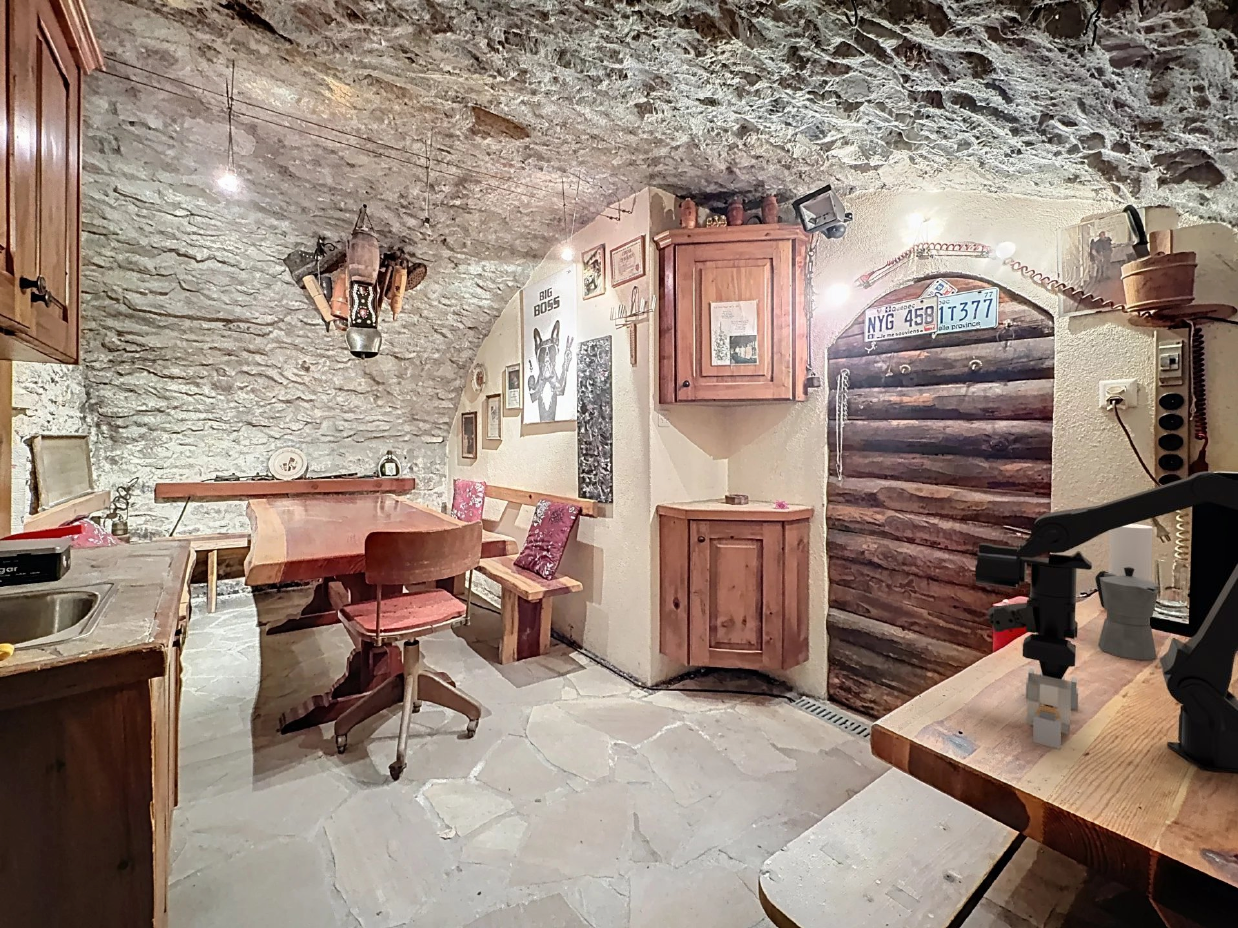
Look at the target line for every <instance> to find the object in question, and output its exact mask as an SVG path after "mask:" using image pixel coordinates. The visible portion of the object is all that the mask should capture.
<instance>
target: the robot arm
mask: <svg viewBox="0 0 1238 928" xmlns="http://www.w3.org/2000/svg"><path fill="white" fill-rule="evenodd" d="M1206 503H1213V504H1215V505H1219V506H1223V507H1227V508H1230V509H1234V510H1237V511H1238V480H1234V479H1231V478H1227V477H1225V476H1223V475H1221V474H1218V473H1215V472H1211V471H1200V472H1199V471H1198V472H1195V473H1193V474H1191V475H1190V476H1188V477H1186V478H1182V479H1180V480H1179V479H1178V480H1176V481H1173V482H1169V483H1167V484H1163V485H1159V486H1156V487H1152V488H1150V489H1147V490H1144V491H1141V492H1140V491H1139V492H1138V493H1133V494H1132V495H1128V496H1125V497H1121V498H1117V499H1115V500H1111V501H1109V502H1108V501H1107V502H1105V503H1101V504H1098V505H1092V506H1087V507H1081V508H1080V507H1079V508H1071V509H1065V510H1058V511H1053V512H1052V511H1051V512H1046V513H1043V514H1041V515H1040V516H1038V517H1037V519H1036V520H1035V522H1034V523H1033V525H1032V527H1031V529H1030V536H1029V537H1028V538H1026V540H1022V541H1021V542H1020V544H1019V547H1017V546H1006V545H996V544H992V543H989V542H988V543H986V542H984V543H983V542H981V543H980V544H979V545H978V554H977V560H976V564H975V567H974V568H975V570H974V572H975V573H974V575H975V583H976V584H980V585H989V586H997V587H1005V588H1011V589H1018V586H1021V584H1026V581H1027V564H1030V591H1029V592H1030V594H1028V599H1026V602H1019V603H1018V602H1016V603H1011V604H1010V603H1009V604H1004V605H1002V604H1001V605H998V606H996V605H995V606H992V607H989V608H988V611H987V616H988V619H989V620H988V623H989V624H990V625H991V627H992V629H993V632H995V633H1001V632H1004V631H1008V630H1014V629H1015V630H1016V629H1023V628H1025V632H1026V633H1031V634H1030V635H1027V636H1026V637H1024V639H1023V643H1022V657H1023V658H1025V659H1028V660H1034V661H1038V662H1039V666H1040V672H1041V671H1042V675H1043V676H1048V677H1052V678H1057V679H1062V677H1063V676H1064V675H1065V674H1066V673H1067V671H1068V670H1069V668H1070V667H1071V668H1073V667H1076V657H1077V656H1076V655H1077V654H1076V653H1077V652H1076V648H1077V645H1076V644H1074V643H1072V642H1071V640H1075V639H1076V638H1078V626H1079V625H1078V623H1079V622H1077V620H1076V608H1077V607H1076V606H1077V599H1076V598H1077V569H1079V570H1090V571H1091V570H1092V568H1093V563H1092V561H1090V560H1088V559H1087V558H1086V557H1085V556H1084V555H1083V554H1082V552H1081V551H1080V550H1077V551H1076V552H1075V553H1073V554H1072V555H1069V554H1062V553H1066V552H1068V551H1070V550H1072V549H1074V548H1076V547H1079V546H1081V545H1082V544H1083V545H1084V543H1087V542H1089V541H1091V540H1093V539H1095V538H1096V537H1099V536H1100V535H1102V534H1105V533H1106V532H1108V531H1109V532H1110V530H1112V529H1115V528H1119V527H1122V526H1126V525H1129V524H1136V523H1139V522H1143V521H1146V520H1149V519H1150V520H1151V519H1153V518H1157V517H1160V516H1164V515H1167V514H1170V513H1175V512H1177V511H1182V510H1184V509H1189V508H1193V507H1196V506H1198V505H1203V504H1206ZM1045 553H1049V554H1048V557H1038V556H1040V555H1043V554H1045ZM1060 553H1061V554H1060ZM1228 578H1229V579H1227V581H1226V583H1225V585H1224V586H1223V588H1222V590H1221V592H1220V593H1219V595H1218V597H1217V599H1216V600H1215V602H1214V604H1213V605H1212V607H1211V608H1210V610H1209V613H1208V614H1207V616H1206V617H1205V619H1204V621H1203V622H1202V624H1201V626H1200V628H1199V629H1198V631H1197V633H1195V635H1193V636H1192V637H1191V638H1189V639H1188V640H1187V641H1185V642H1183V641H1181V640H1179V639H1177V638H1176V637H1172V639H1171V641H1170V644H1169V646H1168V647H1169V648H1168V651H1167V652H1166V653H1165V654H1164V655H1162V656H1161V657H1159V662H1160V665H1161V666H1160V667H1161V669H1162V676H1163V679H1164V682H1165V685H1166V689H1167V690H1168V693H1169V694H1170V697H1172V698H1173V699H1174V700H1175V702H1177V703H1179V704H1181V705H1180V710H1179V711H1180V712H1179V714H1178V731H1177V735H1178V737H1177V740H1178V742H1175V741H1167V742H1166V746H1167V747H1169V748H1170V749H1171V750H1173V751H1174V752H1176V753H1178V754H1179V755H1181V756H1182V757H1183V758H1185V759H1186V760H1187V761H1189V762H1190V763H1192V764H1193V765H1195V766H1197V767H1198V768H1200V769H1202V770H1203V771H1204V770H1205V771H1213V772H1214V771H1215V772H1230V773H1238V699H1237V697H1236V696H1235V695H1234V694H1233V693H1232V692H1231V691H1229V688H1230V686H1231V681H1232V677H1233V671H1234V663H1235V658H1236V655H1237V652H1238V563H1237V564H1236V566H1235V568H1234V570H1233V571H1232V573H1231V575H1230V576H1229V577H1228ZM1070 639H1071V640H1070Z"/></svg>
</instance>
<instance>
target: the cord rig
mask: <svg viewBox="0 0 1238 928" xmlns="http://www.w3.org/2000/svg"><path fill="white" fill-rule="evenodd" d="M1030 673H1033V674H1035V669H1034V668H1030V667H1029V669H1028V672H1027V674H1028V675H1027V679H1026V682H1025V683H1026V684H1025V685H1026V687H1025V699H1026V700H1027V698H1028V679H1029V674H1030ZM1039 675H1042V671H1041V670H1040V671H1039ZM1077 679H1078V678H1077V677H1075V676H1071V678H1070V681H1071V710H1075V711H1078V710H1079V688H1077V682H1078V681H1077ZM1062 680H1066V677H1065V674H1064V676H1063V677H1062ZM1057 711H1058V710H1056V709H1055V708H1054V706H1050V705H1046V704H1044V705H1041V707H1039V708H1038V709H1037V711H1036V713H1035V712H1034V721H1033V725H1032V726H1033V727H1032V728H1033V729H1032V730H1033V731H1032V732H1033V734H1032V742H1033V743H1036V744H1039V745H1044V746H1046V747H1051V748H1053V749H1058V750H1061V743H1062V742H1061V740H1062V739H1061V737H1062V736H1061V735H1062V732H1061V719H1060V717H1059V714H1058V712H1057Z"/></svg>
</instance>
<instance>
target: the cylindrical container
mask: <svg viewBox="0 0 1238 928" xmlns="http://www.w3.org/2000/svg"><path fill="white" fill-rule="evenodd" d="M1153 529H1154V527H1153V526H1150V525H1145V524H1136V523H1133V524H1129V525H1126V526H1122V527H1119V528H1115V529H1112V530H1109V552H1108V553H1109V557H1108V573H1113V574H1116V575H1117V576H1124V575H1125V571H1124V568H1126V567H1130V568H1133V569H1134V572H1133V577H1137V578H1141V579H1144V580H1148V581H1151V582H1152V561H1153V560H1152V559H1153V558H1152V556H1153V555H1152V554H1153V533H1154V531H1153ZM1150 618H1151V617H1149V624H1150V622H1151V621H1150Z"/></svg>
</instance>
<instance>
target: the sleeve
mask: <svg viewBox="0 0 1238 928" xmlns="http://www.w3.org/2000/svg"><path fill="white" fill-rule="evenodd" d="M1026 700H1027V701H1026V702H1027V705H1026V706H1027V707H1026V708H1027V709H1026V724H1027V725H1031V726H1033V721H1034V712H1035V713H1036V711H1037V709H1038V708H1039V707H1041V706H1042V705H1045V704H1046V705H1050V706H1053V707H1055V708H1057V710H1056V711H1057V712H1058V714H1059V717H1060V719H1061V734H1062V733H1063V734H1066V735H1071V710H1072V709H1071V680H1067V679H1065V680H1062V679H1057V678H1052V677H1048V676H1043V675H1040V674H1037V673H1034V674H1033V673H1030V674H1029V679H1028V698H1027V699H1026Z"/></svg>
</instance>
